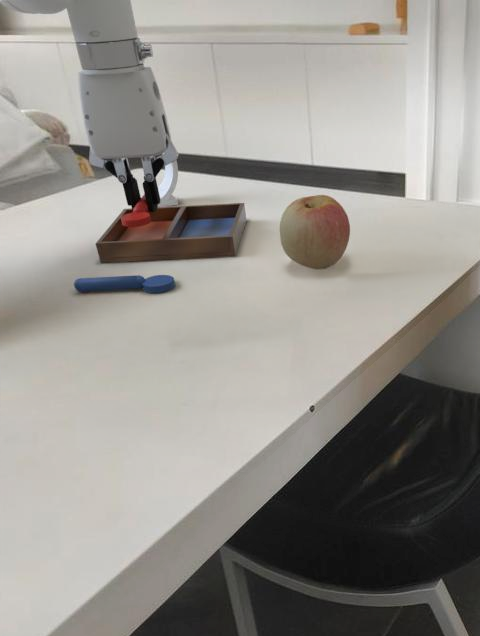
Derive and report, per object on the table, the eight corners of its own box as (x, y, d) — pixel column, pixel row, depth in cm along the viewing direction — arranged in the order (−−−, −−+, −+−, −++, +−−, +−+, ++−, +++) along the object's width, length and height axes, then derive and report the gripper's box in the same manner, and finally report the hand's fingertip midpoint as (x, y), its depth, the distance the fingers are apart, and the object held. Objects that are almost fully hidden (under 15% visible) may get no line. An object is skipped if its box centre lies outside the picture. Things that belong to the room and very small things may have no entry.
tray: (100, 263, 91) (95, 243, 90) (128, 226, 104) (123, 208, 102) (235, 256, 91) (232, 236, 90) (246, 220, 104) (244, 202, 102)
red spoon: (165, 200, 100) (162, 189, 99) (148, 226, 90) (145, 213, 89) (139, 202, 100) (136, 190, 99) (119, 228, 90) (116, 215, 89)
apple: (342, 250, 92) (338, 187, 87) (358, 272, 85) (356, 205, 80) (278, 258, 90) (271, 194, 85) (289, 281, 83) (282, 213, 78)
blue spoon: (80, 286, 85) (77, 273, 84) (177, 281, 85) (175, 268, 84) (71, 297, 82) (67, 284, 81) (172, 292, 82) (169, 279, 81)
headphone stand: (141, 203, 114) (123, 123, 107) (176, 197, 116) (161, 118, 109) (148, 209, 111) (130, 127, 103) (184, 203, 113) (169, 122, 106)
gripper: (178, 50, 88) (205, 199, 99) (57, 57, 88) (97, 205, 99) (168, 57, 82) (197, 214, 94) (38, 64, 82) (82, 221, 93)
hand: (145, 209), depth 96 cm, fingers closed on red spoon, 1 cm apart
